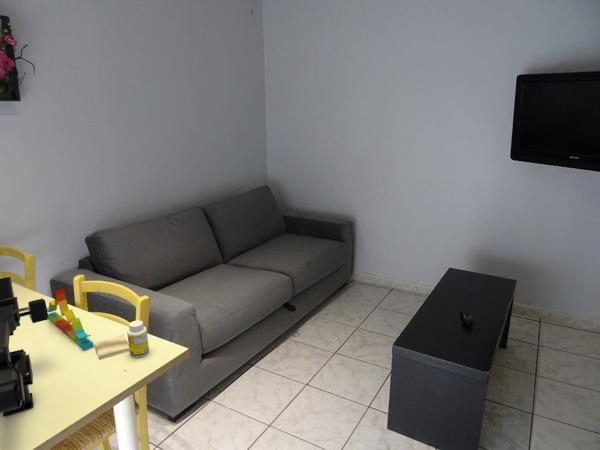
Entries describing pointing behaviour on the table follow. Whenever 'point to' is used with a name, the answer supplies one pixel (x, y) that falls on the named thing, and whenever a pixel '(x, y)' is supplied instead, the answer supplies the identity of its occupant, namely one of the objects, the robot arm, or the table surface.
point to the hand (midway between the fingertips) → (11, 317)
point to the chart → (68, 321)
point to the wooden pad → (111, 347)
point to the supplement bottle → (137, 339)
